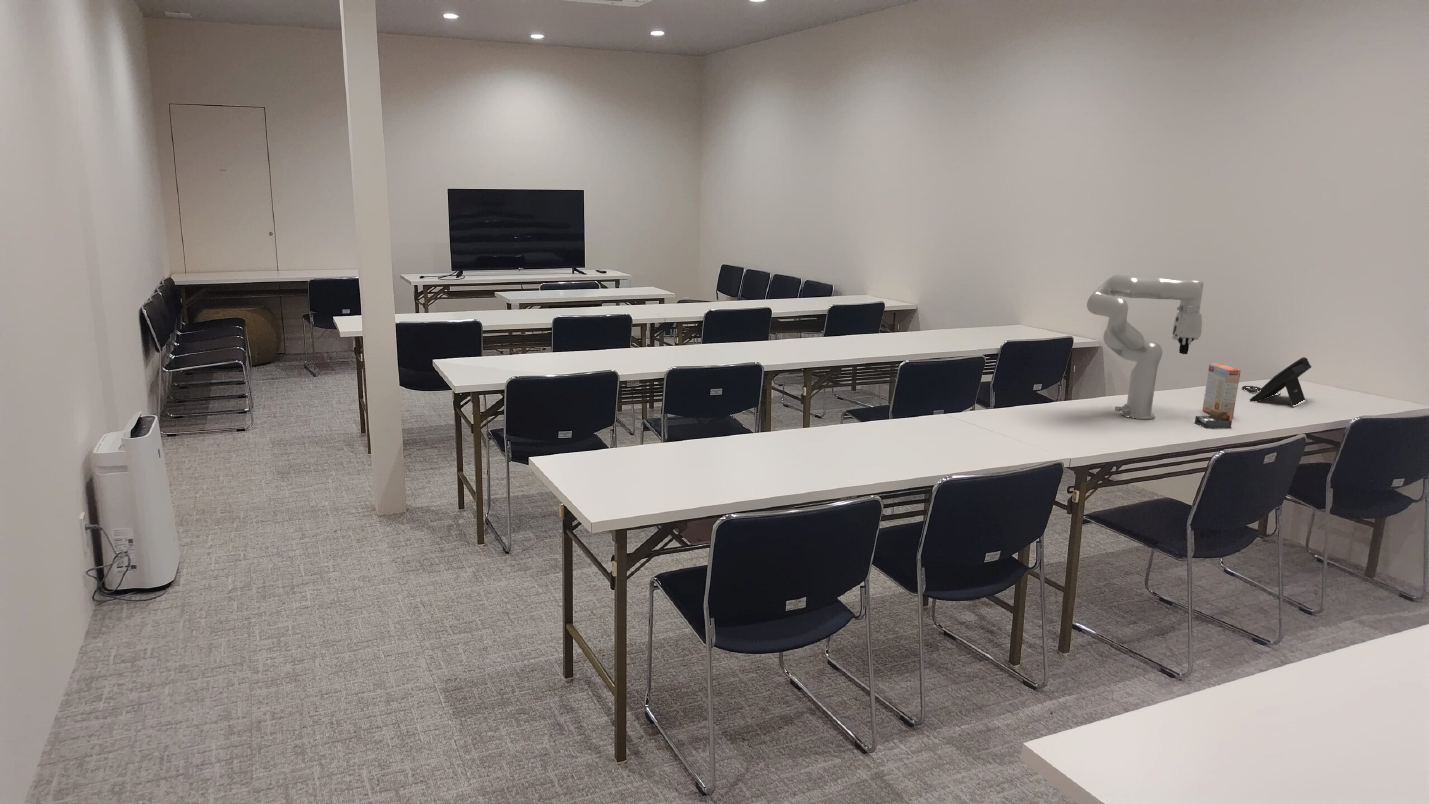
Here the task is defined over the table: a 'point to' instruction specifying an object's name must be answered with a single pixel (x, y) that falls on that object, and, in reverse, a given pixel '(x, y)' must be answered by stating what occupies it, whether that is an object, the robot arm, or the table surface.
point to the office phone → (1284, 383)
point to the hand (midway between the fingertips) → (1183, 353)
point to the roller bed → (1213, 422)
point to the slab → (1218, 414)
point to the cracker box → (1221, 388)
